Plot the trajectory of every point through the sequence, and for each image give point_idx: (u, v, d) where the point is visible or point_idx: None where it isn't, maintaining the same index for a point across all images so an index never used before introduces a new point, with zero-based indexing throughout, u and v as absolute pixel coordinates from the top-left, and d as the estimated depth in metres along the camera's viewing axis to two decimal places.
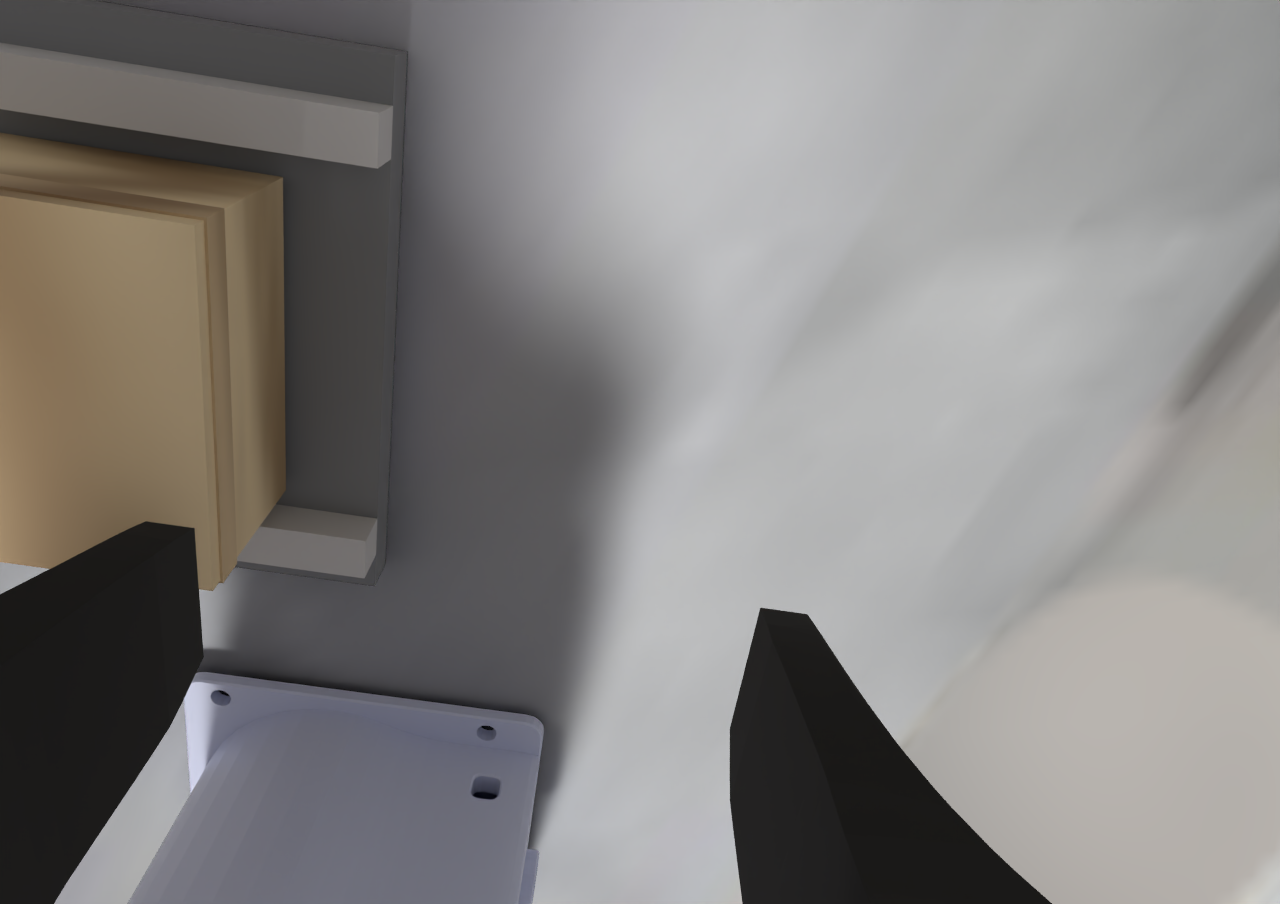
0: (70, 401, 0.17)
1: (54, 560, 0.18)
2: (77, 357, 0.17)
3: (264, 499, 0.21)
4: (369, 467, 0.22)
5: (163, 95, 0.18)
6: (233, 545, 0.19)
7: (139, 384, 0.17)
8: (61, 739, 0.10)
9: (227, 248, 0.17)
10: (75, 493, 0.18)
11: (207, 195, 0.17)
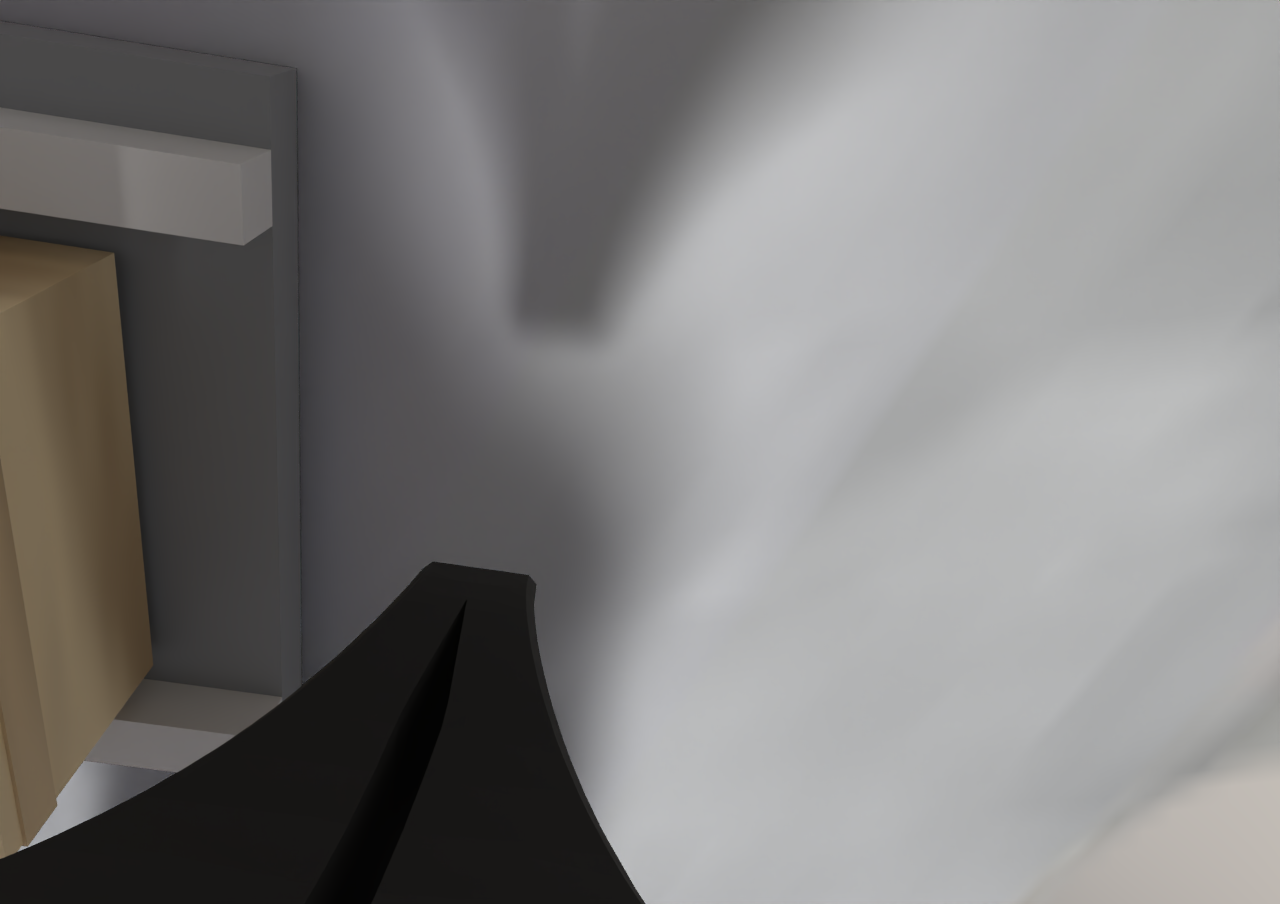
0: None
1: None
2: None
3: (110, 695, 0.15)
4: (267, 634, 0.16)
5: None
6: (46, 786, 0.13)
7: None
8: (411, 785, 0.10)
9: None
10: None
11: None
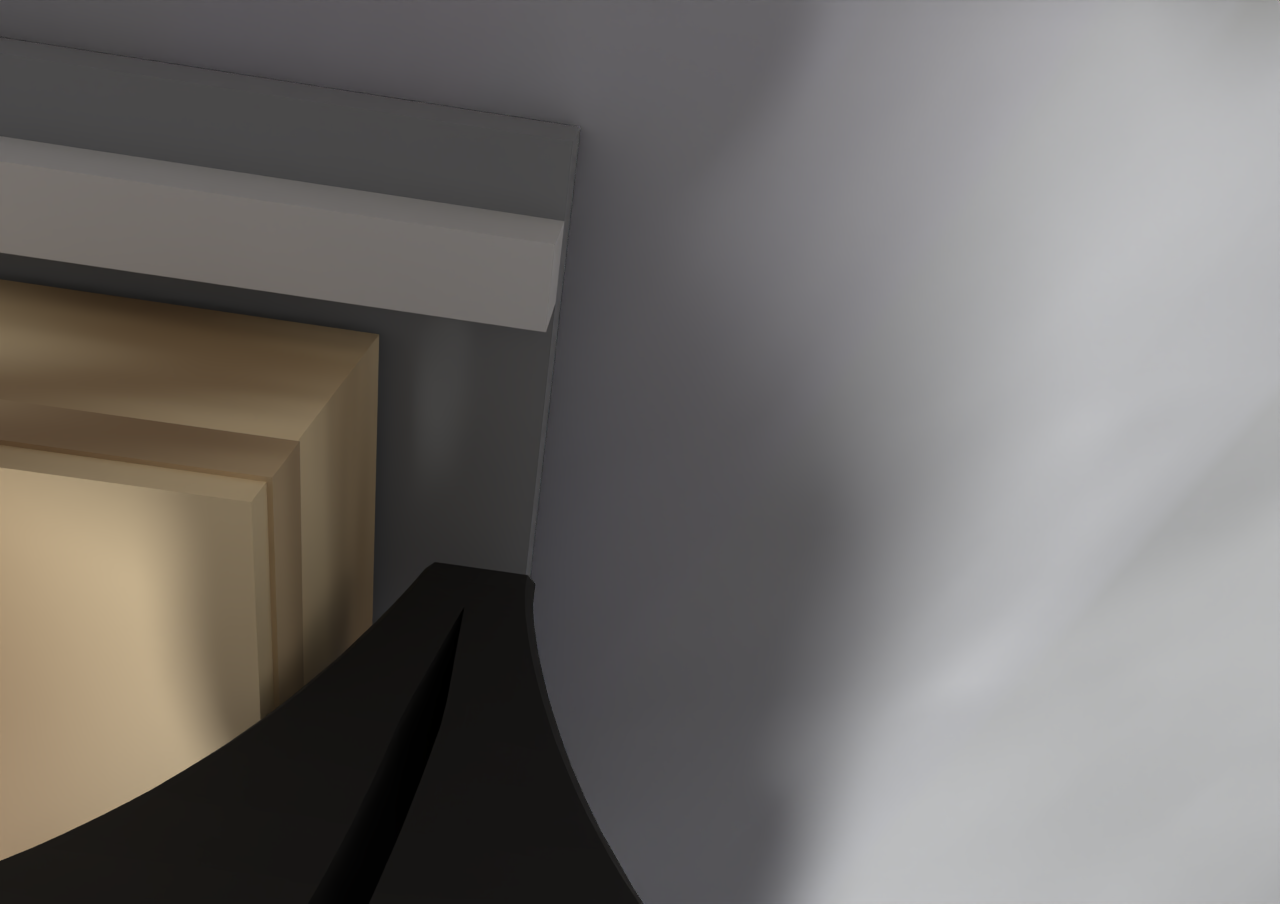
0: (30, 769, 0.10)
1: None
2: (39, 705, 0.09)
3: None
4: None
5: (188, 217, 0.10)
6: None
7: (150, 745, 0.09)
8: (413, 785, 0.10)
9: (303, 499, 0.10)
10: None
11: (265, 403, 0.10)
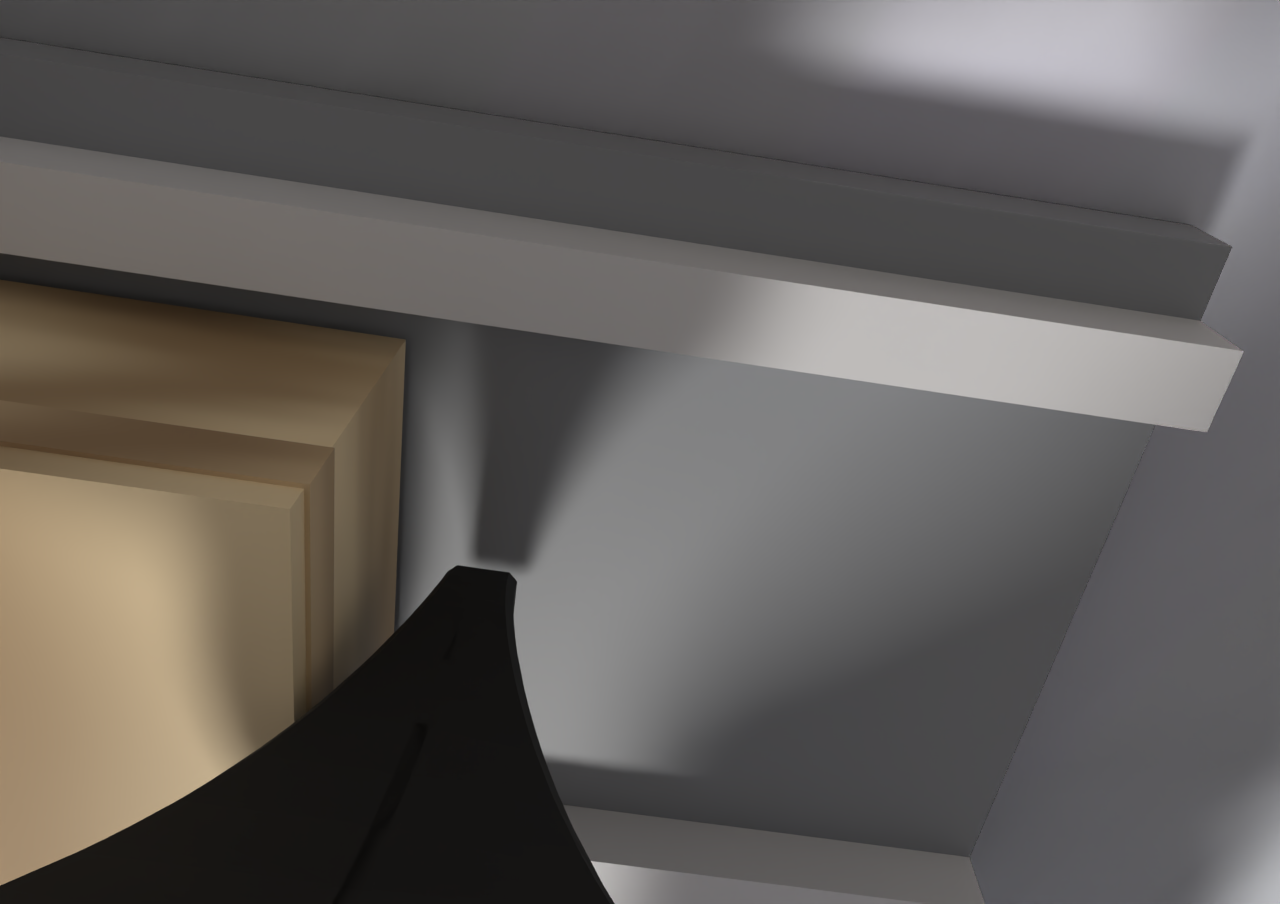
0: (62, 774, 0.10)
1: None
2: (73, 710, 0.09)
3: None
4: (980, 796, 0.15)
5: (888, 324, 0.11)
6: None
7: (183, 751, 0.09)
8: None
9: (336, 505, 0.10)
10: None
11: (298, 408, 0.10)
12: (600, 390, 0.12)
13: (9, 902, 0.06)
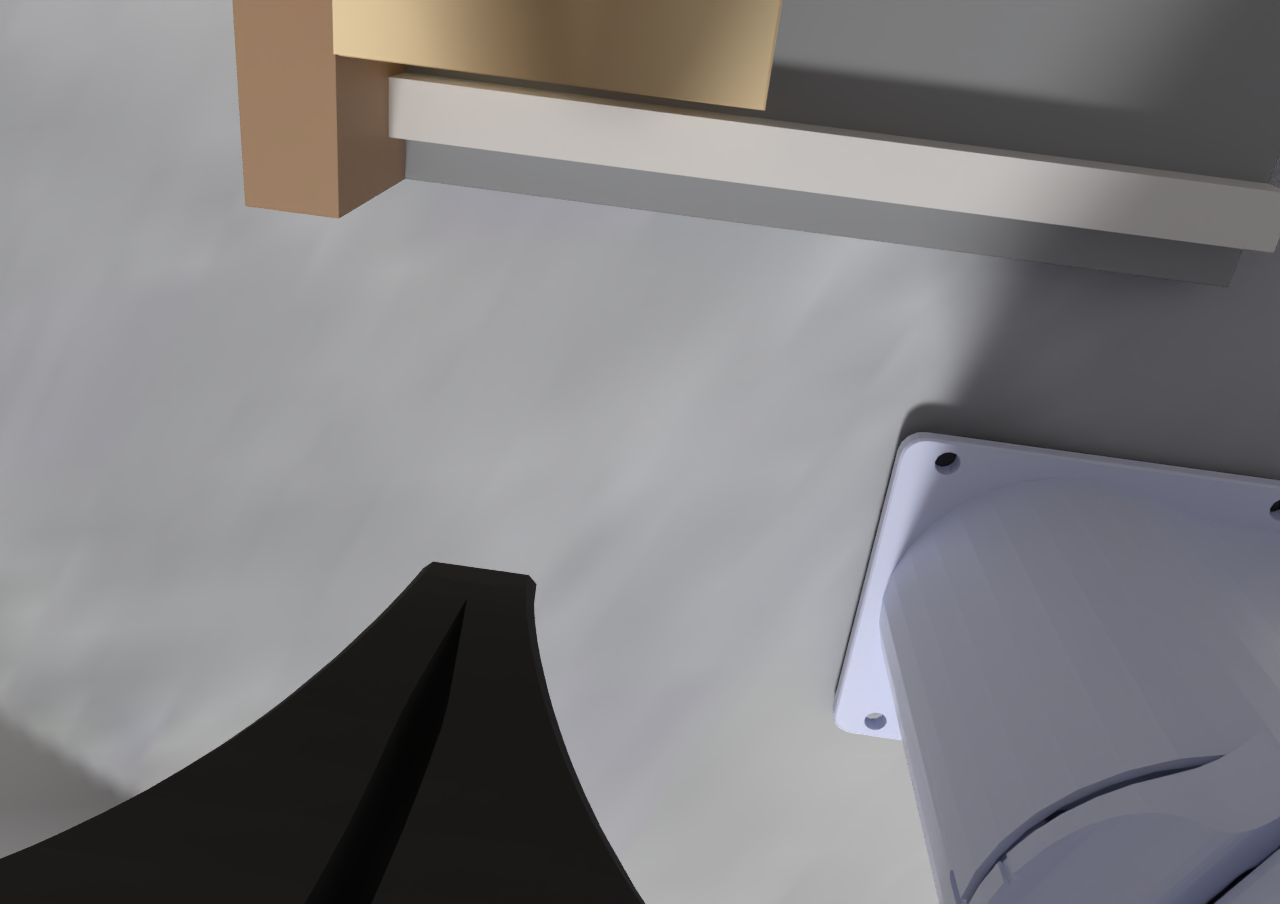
0: None
1: (553, 66, 0.13)
2: None
3: None
4: None
5: None
6: None
7: None
8: (411, 785, 0.10)
9: None
10: None
11: None
12: None
13: None
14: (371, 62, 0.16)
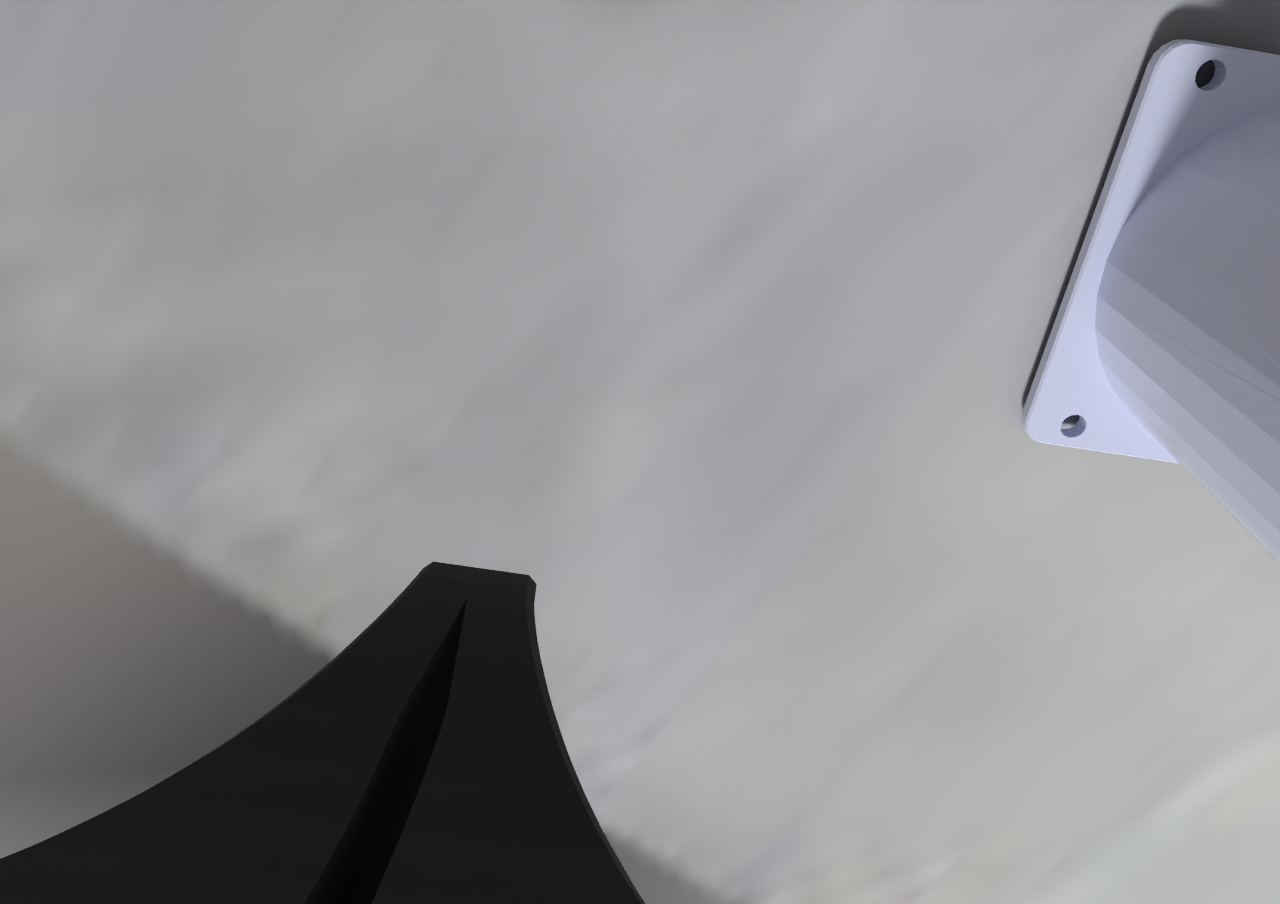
0: None
1: None
2: None
3: None
4: None
5: None
6: None
7: None
8: (411, 785, 0.10)
9: None
10: None
11: None
12: None
13: None
14: None
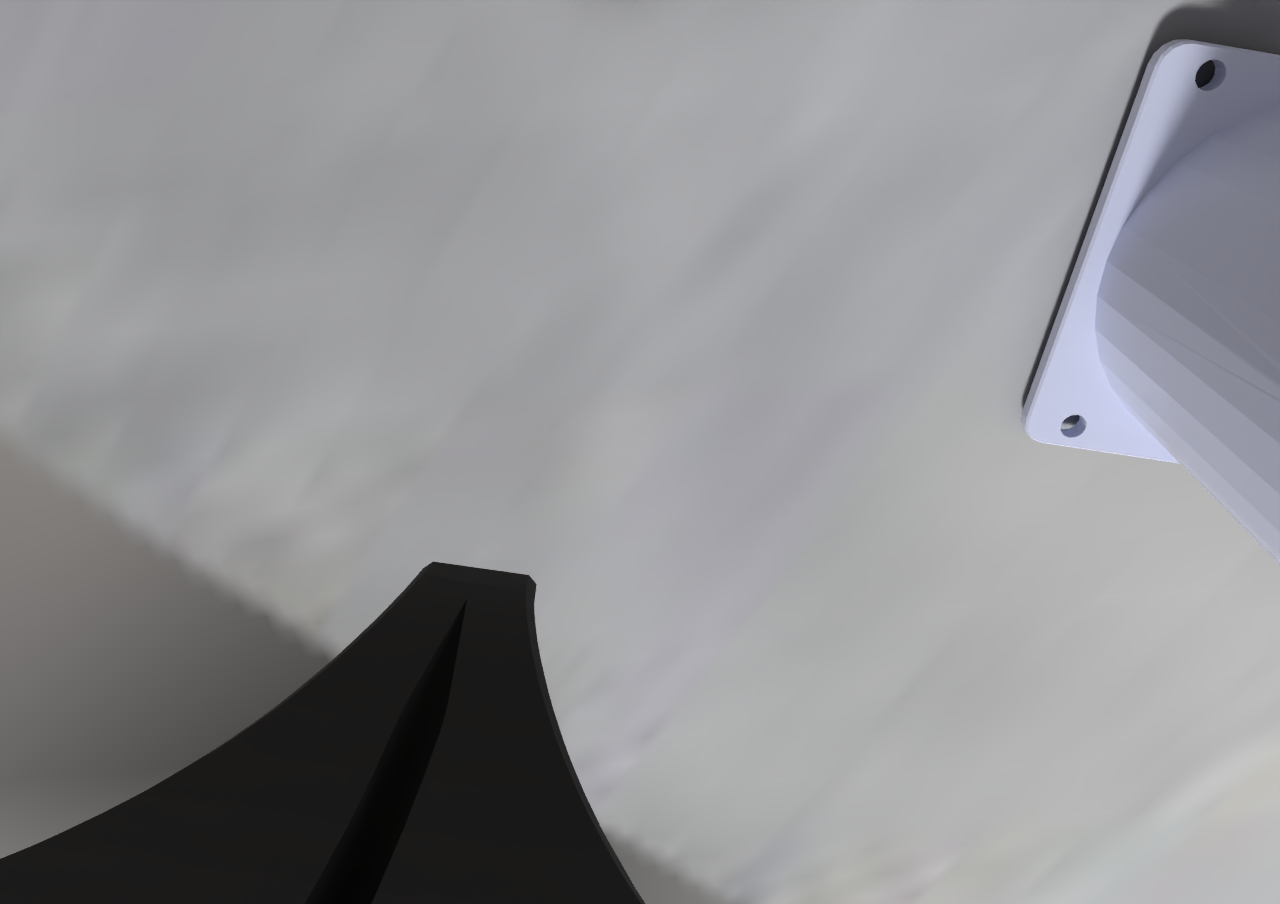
0: None
1: None
2: None
3: None
4: None
5: None
6: None
7: None
8: (411, 785, 0.10)
9: None
10: None
11: None
12: None
13: None
14: None
